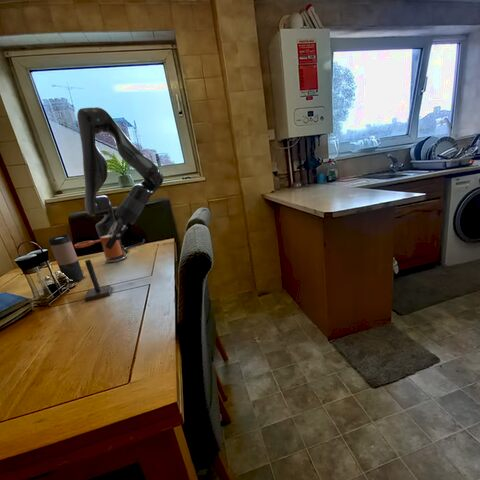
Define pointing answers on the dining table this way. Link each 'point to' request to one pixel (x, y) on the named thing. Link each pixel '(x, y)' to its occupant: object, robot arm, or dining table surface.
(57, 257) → the travel mug
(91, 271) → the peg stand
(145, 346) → the dining table surface
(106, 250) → the measuring cup
